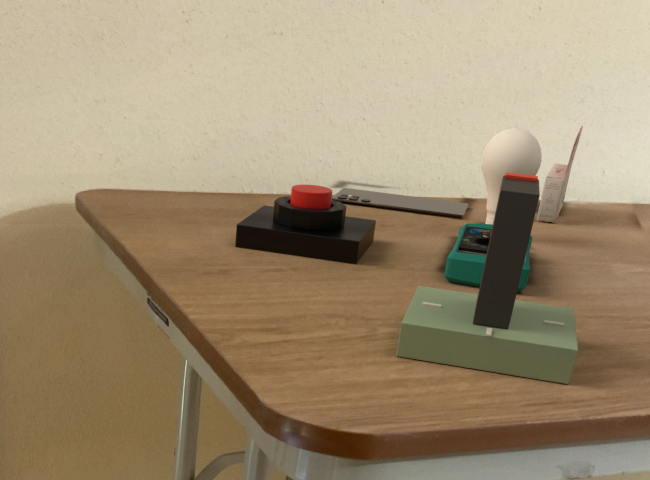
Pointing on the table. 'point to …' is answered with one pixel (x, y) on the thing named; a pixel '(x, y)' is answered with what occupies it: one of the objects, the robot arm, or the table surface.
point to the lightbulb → (508, 162)
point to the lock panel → (489, 336)
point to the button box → (306, 232)
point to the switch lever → (507, 249)
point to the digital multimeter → (475, 256)
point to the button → (311, 196)
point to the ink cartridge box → (555, 188)
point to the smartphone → (401, 202)
